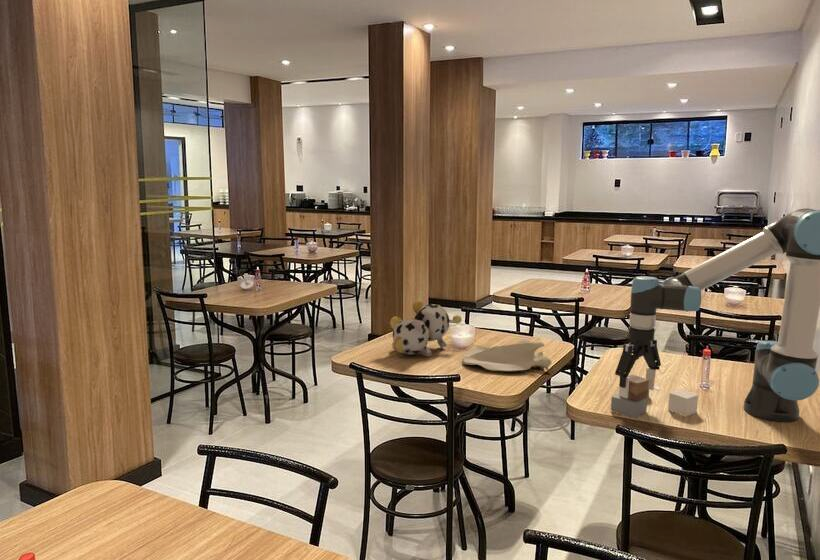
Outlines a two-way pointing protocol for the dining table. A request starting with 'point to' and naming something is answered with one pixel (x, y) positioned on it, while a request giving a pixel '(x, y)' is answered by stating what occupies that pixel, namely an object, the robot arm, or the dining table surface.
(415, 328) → the toy
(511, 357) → the beige wavy platter
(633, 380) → the walnut cube
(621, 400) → the platform block
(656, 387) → the phone stand
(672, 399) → the white cube
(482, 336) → the dining table surface
